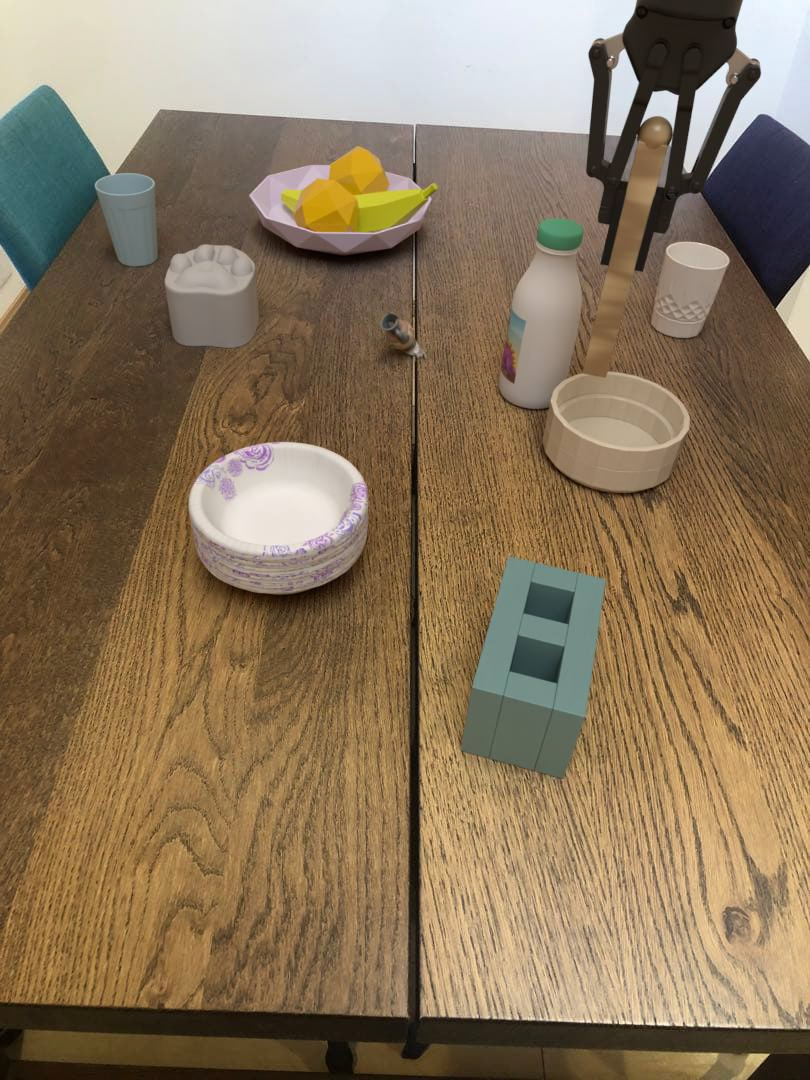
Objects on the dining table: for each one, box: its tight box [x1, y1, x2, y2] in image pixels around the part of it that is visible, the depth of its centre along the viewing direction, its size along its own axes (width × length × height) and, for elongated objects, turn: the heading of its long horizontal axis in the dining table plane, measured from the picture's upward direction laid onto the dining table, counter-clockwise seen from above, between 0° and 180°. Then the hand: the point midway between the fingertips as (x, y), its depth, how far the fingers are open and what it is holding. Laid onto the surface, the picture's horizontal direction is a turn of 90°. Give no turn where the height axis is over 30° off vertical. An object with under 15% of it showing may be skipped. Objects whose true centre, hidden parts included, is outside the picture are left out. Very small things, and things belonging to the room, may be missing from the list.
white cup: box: [650, 241, 731, 339], centre depth 107 cm, size 8×8×10 cm
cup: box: [94, 172, 159, 267], centre depth 112 cm, size 8×8×10 cm
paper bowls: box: [187, 441, 369, 596], centre depth 72 cm, size 15×15×8 cm
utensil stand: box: [459, 555, 607, 780], centre depth 62 cm, size 8×13×8 cm, turn 164°
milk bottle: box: [498, 217, 584, 410], centre depth 90 cm, size 8×8×20 cm
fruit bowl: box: [248, 145, 439, 257], centre depth 121 cm, size 28×27×11 cm
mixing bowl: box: [541, 371, 691, 494], centre depth 87 cm, size 14×14×6 cm
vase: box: [379, 312, 428, 364], centre depth 99 cm, size 5×5×6 cm
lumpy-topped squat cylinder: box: [164, 243, 260, 349], centre depth 102 cm, size 10×13×9 cm
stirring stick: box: [581, 115, 674, 378], centre depth 74 cm, size 3×3×24 cm
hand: (622, 261), depth 74 cm, fingers closed on stirring stick, 2 cm apart
